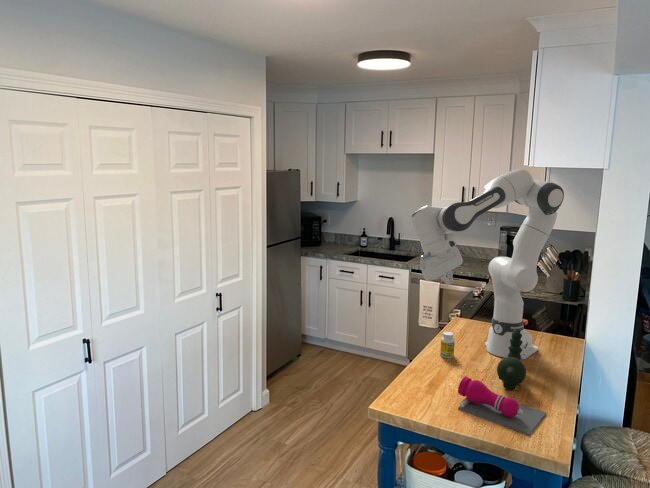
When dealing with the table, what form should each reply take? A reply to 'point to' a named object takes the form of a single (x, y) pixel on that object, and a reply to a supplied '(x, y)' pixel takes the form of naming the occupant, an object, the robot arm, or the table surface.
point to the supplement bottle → (447, 345)
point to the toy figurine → (512, 364)
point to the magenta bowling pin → (488, 397)
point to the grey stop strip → (464, 402)
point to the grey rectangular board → (517, 423)
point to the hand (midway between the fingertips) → (450, 284)
